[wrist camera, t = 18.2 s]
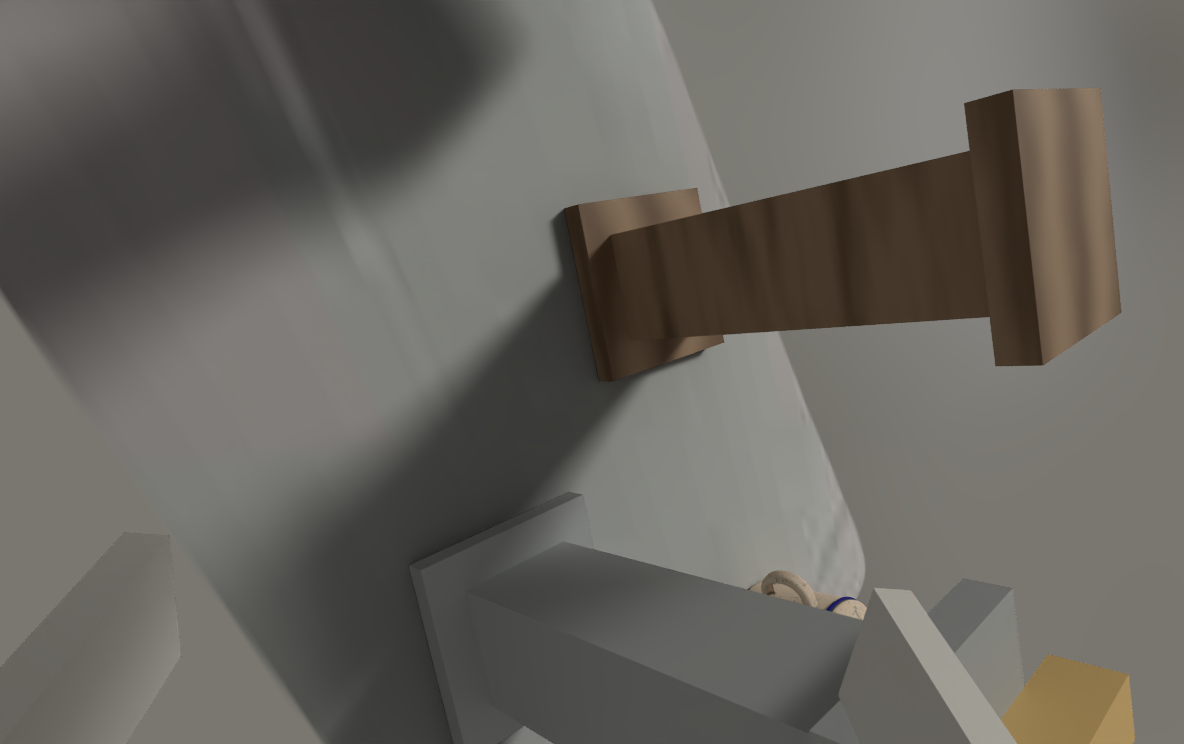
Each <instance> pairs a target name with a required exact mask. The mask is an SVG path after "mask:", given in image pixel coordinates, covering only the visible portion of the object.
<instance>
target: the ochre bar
mask: <svg viewBox="0 0 1184 744" xmlns="http://www.w3.org/2000/svg"><path fill="white" fill-rule="evenodd" d="M1001 721H1002V723H1003V724H1004V726H1005V727H1006V728H1007V730H1008V731H1009V733H1010V734H1011V736H1012V737H1013V738H1014V740H1015V741H1016V743H1017V744H1133V742H1134V740H1135V733H1134V723H1133V713H1132V703H1131V692H1130V682H1129V675H1128V674H1125V673H1121V672H1117V671H1113V670H1109V669H1105V668H1101V667H1097V666H1093V665H1089V664H1085V663H1081V662H1077V661H1073V660H1069V659H1065V658H1061V657H1057V656H1053V655H1049V654H1048V655H1047V656H1046V658H1045V659H1044V661H1043V662H1042V663H1041V665H1040V666H1039V667H1038V669H1037V670H1036V672H1035V673H1034V674H1033V676H1032V677H1031V678H1030V680H1029V681H1028V683H1027V684H1026V685H1025V687H1024V688H1023V689H1022V691H1021V692H1020V694H1019V695H1018V696H1017V698H1016V699H1015V700H1014V702H1013V703H1012V705H1011V706H1010V707H1009V709H1008V710H1007V712H1006V713H1005V714H1004V716H1003V717H1002V718H1001Z"/></svg>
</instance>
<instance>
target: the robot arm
mask: <svg viewBox="0 0 1184 744" xmlns="http://www.w3.org/2000/svg"><path fill="white" fill-rule="evenodd" d="M180 658H181V649H180V638H179V628H178V618H177V608H176V597H175V588H174V577H173V566H172V556H171V546H170V536H169V535H156V534H143V533H129V532H124V533H123V534H122V535H121V536H120V537H119V538H118V539H117V541H116V542H115V543H114V544H113V545H112V546H111V547H110V548H109V549H108V550H107V551H106V553H105V554H104V555H103V556H102V557H101V558H100V559H99V560H98V561H97V562H96V563H95V565H94V566H93V567H92V568H91V569H90V570H89V571H88V572H87V573H86V574H85V575H84V577H83V578H82V579H81V580H80V581H79V582H78V583H77V584H76V585H75V586H74V587H73V588H72V590H71V591H70V592H69V593H68V594H67V595H66V596H65V597H64V598H63V599H62V600H61V602H60V603H59V604H58V605H57V606H56V607H55V608H54V609H53V610H52V612H51V613H50V614H49V615H48V616H47V617H46V618H45V619H44V620H43V621H42V622H41V623H40V624H39V626H38V627H37V628H36V629H35V630H34V631H33V632H32V633H31V634H30V635H29V636H28V638H27V639H26V640H25V641H24V642H23V643H22V644H21V645H20V646H19V647H18V648H17V650H16V651H15V652H14V653H13V654H12V655H11V656H10V657H9V658H8V659H7V661H6V662H5V663H4V664H3V665H2V666H1V667H0V744H127V742H128V741H129V739H130V738H131V736H132V734H133V732H134V731H135V730H136V728H137V726H138V725H139V723H140V722H141V720H142V718H143V717H144V715H145V713H146V712H147V710H148V709H149V707H150V705H151V704H152V702H153V701H154V699H155V698H156V696H157V694H158V693H159V691H160V690H161V688H162V686H163V685H164V683H165V681H166V680H167V678H168V677H169V675H170V673H171V672H172V670H173V669H174V667H175V666H176V664H177V662H178V661H179V659H180ZM838 696H839V698H840V701H841V703H842V705H843V707H844V709H845V711H846V714H847V716H848V718H849V720H850V722H851V724H852V727H853V729H854V731H855V733H856V735H857V737H858V740H859V742H860V744H1017V743H1016V741H1015V740H1014V738H1013V737H1012V736H1011V734H1010V733H1009V731H1008V730H1007V728H1006V727H1005V726H1004V724H1003V723H1002V721H1001V720H1000V718H999V717H998V715H997V714H996V713H995V711H994V710H993V708H992V707H991V705H990V704H989V702H988V701H987V700H986V698H985V697H984V695H983V694H982V692H981V691H980V690H979V688H978V687H977V685H976V684H975V682H974V681H973V679H972V678H971V677H970V675H969V674H968V672H967V671H966V669H965V668H964V666H963V665H962V664H961V662H960V661H959V659H958V658H957V656H956V655H955V654H954V652H953V651H952V649H951V648H950V646H949V645H948V643H947V642H946V641H945V639H944V638H943V636H942V635H941V633H940V632H939V630H938V629H937V628H936V626H935V625H934V623H933V622H932V620H931V619H930V618H929V616H928V615H927V613H926V612H925V610H924V609H923V607H922V606H921V605H920V603H919V602H918V600H917V599H916V597H915V596H914V594H913V593H912V592H911V591H909V590H895V589H882V588H874V589H873V591H872V594H871V597H870V600H869V603H868V606H867V609H866V612H865V615H864V618H863V621H862V624H861V627H860V630H859V633H858V636H857V639H856V642H855V645H854V648H853V651H852V654H851V657H850V660H849V663H848V666H847V669H846V673H845V676H844V679H843V682H842V685H841V688H840V691H839V694H838Z"/></svg>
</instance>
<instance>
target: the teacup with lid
mask: <svg viewBox="0 0 1184 744" xmlns="http://www.w3.org/2000/svg"><path fill="white" fill-rule="evenodd" d="M749 590H751V591H754V592H758V593H762V594H766V595H770V596H773V597H777V598H781V599H785V600H789V601H792V602H796V603H800V604H804V605H808V606H811V607H815V608H819V609H823V610H827V611H830V612H834V613H838V614H842V615H846V616H849V617H853V618H857V619H861V620H863V618H864V615H865V612H866V609H867V608H866V607H865V606H864V605H863V604H862V603H861V602H859V601H858V600H856V599H854V598H851V597H842V598H839V597H835V596H831V595H827V594H823V593H819V592H815V591H812V589H811V588H810V586H809V585H808V584H807V583H806V582H805V581H804V580H803V579H802V578H800V577H799V576H797V575H796V574H794V573H791V572H788V571H773V572H771V573H769V574H768V575H767V576H766V577H765V578H764V580H763V581H762V582H759V583H757V584H755V585H754V586H753V587H751V588H750V589H749Z"/></svg>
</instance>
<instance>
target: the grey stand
mask: <svg viewBox="0 0 1184 744" xmlns="http://www.w3.org/2000/svg"><path fill="white" fill-rule="evenodd" d="M409 569H410V573H411V577H412V581H413V585H414V589H415V593H416V597H417V601H418V605H419V609H420V613H421V617H422V621H423V625H424V629H425V633H426V637H427V641H428V645H429V649H430V653H431V657H432V661H433V665H434V669H435V673H436V677H437V681H438V685H439V688H440V692H441V696H442V700H443V704H444V708H445V712H446V716H447V720H448V724H449V728H450V732H451V736H452V740H453V744H498V743H500V742H501V741H503V740H504V739H505V738H507V737H508V736H510V735H511V734H513V733H514V732H516V731H517V730H519V729H520V728H521V727H523V726H526V727H527V728H529V729H531V730H532V731H534V732H536V733H537V734H539V735H541V736H542V737H544V738H545V739H547V740H549V741H550V742H552V743H554V744H860V742H859V740H858V737H857V735H856V733H855V731H854V729H853V727H852V724H851V722H850V720H849V718H848V716H847V714H846V711H845V709H844V707H843V705H842V703H841V701H840V698H839V696H838V694H839V691H840V688H841V685H842V682H843V679H844V676H845V673H846V669H847V666H848V663H849V660H850V657H851V654H852V651H853V648H854V645H855V642H856V639H857V636H858V633H859V630H860V627H861V624H862V621H863V620H861V619H857V618H853V617H849V616H846V615H842V614H838V613H834V612H830V611H827V610H823V609H819V608H815V607H811V606H808V605H804V604H800V603H796V602H792V601H789V600H785V599H781V598H777V597H773V596H770V595H766V594H762V593H758V592H754V591H751V590H747V589H743V588H739V587H735V586H731V585H728V584H724V583H720V582H716V581H712V580H709V579H705V578H701V577H697V576H693V575H690V574H686V573H682V572H678V571H674V570H671V569H667V568H663V567H659V566H655V565H652V564H648V563H644V562H640V561H636V560H633V559H629V558H625V557H621V556H617V555H614V554H610V553H606V552H602V551H598V550H595V549H594V545H593V541H592V536H591V531H590V526H589V522H588V517H587V512H586V507H585V503H584V498H583V494H577V493H571V492H568V493H566V494H563V495H561V496H559V497H557V498H555V499H552V500H550V501H548V502H546V503H544V504H542V505H539V506H537V507H535V508H533V509H531V510H529V511H526V512H524V513H522V514H520V515H518V516H515V517H513V518H511V519H509V520H507V521H505V522H502V523H500V524H498V525H496V526H494V527H491V528H489V529H487V530H485V531H483V532H481V533H478V534H476V535H474V536H472V537H470V538H467V539H465V540H463V541H461V542H459V543H457V544H454V545H452V546H450V547H448V548H446V549H443V550H441V551H439V552H437V553H435V554H433V555H430V556H428V557H426V558H424V559H422V560H419V561H417V562H415V563H413V564H411V565H409ZM927 615H928V616H929V618H930V619H931V620H932V622H933V623H934V625H935V626H936V628H937V629H938V630H939V632H940V633H941V635H942V636H943V638H944V639H945V641H946V642H947V643H948V645H949V646H950V648H951V649H952V651H953V652H954V654H955V655H956V656H957V658H958V659H959V661H960V662H961V664H962V665H963V666H964V668H965V669H966V671H967V672H968V674H969V675H970V677H971V678H972V679H973V681H974V682H975V684H976V685H977V687H978V688H979V690H980V691H981V692H982V694H983V695H984V697H985V698H986V700H987V701H988V702H989V704H990V705H991V707H992V708H993V710H994V711H995V713H996V714H997V715H998V717H999V718H1000V720H1001V718H1002V717H1003V716H1004V714H1005V713H1006V712H1007V710H1008V709H1009V707H1010V706H1011V705H1012V703H1013V702H1014V700H1015V699H1016V698H1017V696H1018V695H1019V694H1020V692H1021V691H1022V689H1023V688H1024V687H1025V685H1024V677H1023V669H1022V661H1021V652H1020V644H1019V636H1018V628H1017V619H1016V612H1015V604H1014V595H1013V588H1010V587H1005V586H999V585H994V584H989V583H984V582H979V581H973V580H969V579H962V580H961V581H960V582H959V583H958V584H957V585H956V586H955V587H954V588H953V589H952V590H951V591H950V592H949V593H948V594H947V595H946V596H945V597H944V598H943V599H942V600H941V601H940V602H939V603H938V604H937V605H936V606H935V607H934V608H933V609H931V610H930V612H929V613H927Z"/></svg>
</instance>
